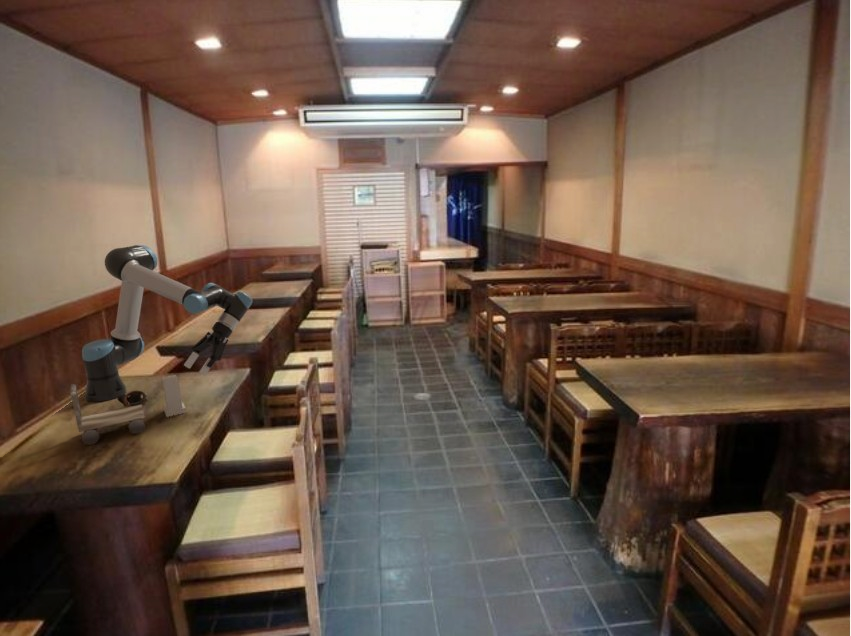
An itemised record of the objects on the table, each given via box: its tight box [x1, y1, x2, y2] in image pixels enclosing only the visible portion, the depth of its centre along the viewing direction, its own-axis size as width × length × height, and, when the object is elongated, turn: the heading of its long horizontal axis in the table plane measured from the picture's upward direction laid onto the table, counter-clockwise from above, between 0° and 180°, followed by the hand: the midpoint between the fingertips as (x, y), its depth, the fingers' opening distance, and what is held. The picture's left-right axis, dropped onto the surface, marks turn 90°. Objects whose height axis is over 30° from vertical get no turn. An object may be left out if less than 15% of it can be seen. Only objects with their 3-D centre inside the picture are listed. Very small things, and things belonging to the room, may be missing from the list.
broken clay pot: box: [116, 389, 149, 408], centre depth 209 cm, size 12×10×8 cm
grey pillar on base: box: [161, 374, 187, 418], centre depth 203 cm, size 7×7×14 cm
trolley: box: [69, 383, 146, 446], centre depth 186 cm, size 13×20×19 cm, turn 123°
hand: (194, 370), depth 208 cm, fingers open, 13 cm apart
